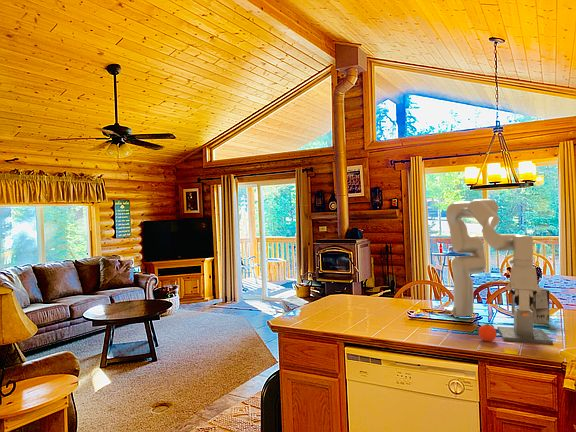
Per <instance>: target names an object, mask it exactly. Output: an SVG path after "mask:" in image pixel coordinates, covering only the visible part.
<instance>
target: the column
mask: <svg viewBox="0 0 576 432" xmlns="http://www.w3.org/2000/svg"><path fill="white" fill-rule="evenodd" d="M518 297H519V305H518V306H517V305H516V306H517V307H516V308H517V310H518V311H524V312H530V306H529V290H519V291H518Z"/></svg>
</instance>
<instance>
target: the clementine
mask: <svg viewBox="0 0 576 432" xmlns="http://www.w3.org/2000/svg"><path fill="white" fill-rule="evenodd" d="M478 335H479V337H480V338H481V339H482V340H483V341H485V342H493V341H495V339H496V338H497V335H498V334H497V330H496V328H495V327H494V326H493V325H492V324H489V323H485V324H483V325H481V326H480V327H479V328H478Z"/></svg>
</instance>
